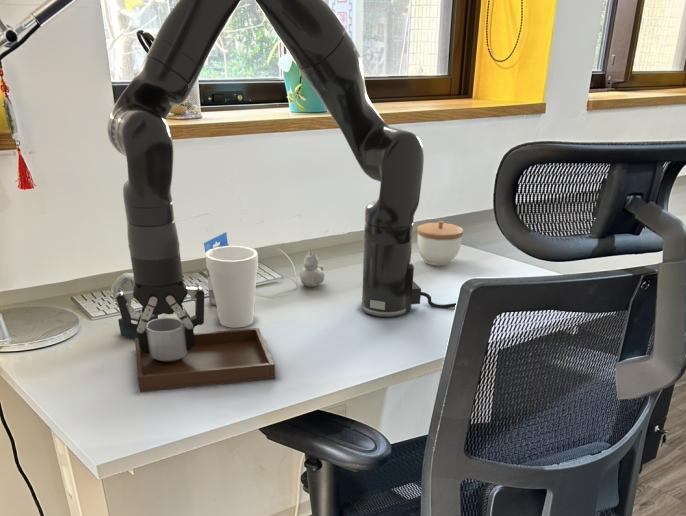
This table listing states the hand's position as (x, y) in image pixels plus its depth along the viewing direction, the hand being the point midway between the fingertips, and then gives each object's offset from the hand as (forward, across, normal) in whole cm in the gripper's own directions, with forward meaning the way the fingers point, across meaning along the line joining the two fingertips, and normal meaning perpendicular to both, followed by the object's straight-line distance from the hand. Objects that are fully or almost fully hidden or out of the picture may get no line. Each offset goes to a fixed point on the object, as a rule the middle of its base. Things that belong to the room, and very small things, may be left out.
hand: (168, 349), depth 119 cm
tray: (+2, +6, -2) cm, 6 cm away
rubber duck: (+2, +32, +32) cm, 46 cm away
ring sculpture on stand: (+2, -4, +14) cm, 14 cm away
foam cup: (+2, +14, +16) cm, 21 cm away
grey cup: (+1, 0, 0) cm, 1 cm away
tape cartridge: (+2, +14, +28) cm, 31 cm away
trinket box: (+2, +66, +42) cm, 78 cm away
